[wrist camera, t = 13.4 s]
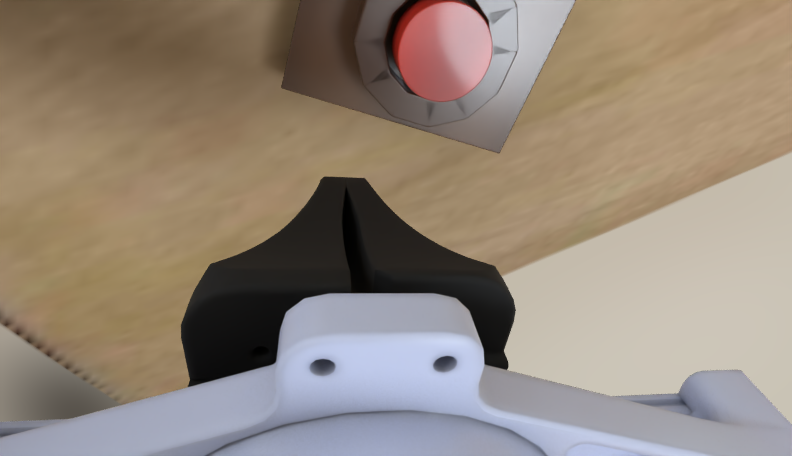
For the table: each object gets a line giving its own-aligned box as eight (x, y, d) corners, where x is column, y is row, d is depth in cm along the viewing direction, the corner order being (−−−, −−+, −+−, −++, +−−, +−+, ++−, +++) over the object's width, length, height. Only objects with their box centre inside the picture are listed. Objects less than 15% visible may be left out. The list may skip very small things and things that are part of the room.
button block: (284, 75, 22) (277, 101, 18) (328, -125, 18) (329, -137, 14) (486, 137, 25) (511, 169, 21) (561, -21, 21) (606, -11, 18)
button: (380, 74, 19) (384, 86, 17) (410, -21, 17) (418, -16, 15) (458, 99, 20) (468, 113, 18) (494, 13, 18) (509, 21, 16)
